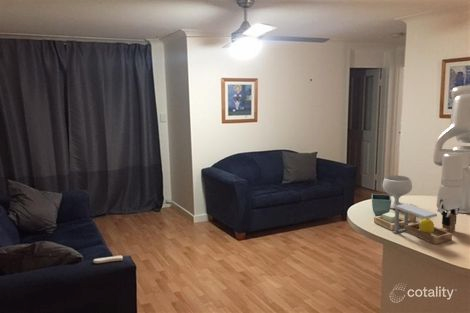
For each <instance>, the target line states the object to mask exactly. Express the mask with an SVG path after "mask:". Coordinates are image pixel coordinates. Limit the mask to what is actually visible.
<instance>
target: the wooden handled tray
mask: <svg viewBox="0 0 470 313" xmlns="http://www.w3.org/2000/svg"><path fill="white" fill-rule="evenodd" d="M456 216H457V215H454V214H451V213H450V212H449V217H450V225H449V226H446V225H444V224H442V227H441V228H440V227H439V228H438V227H436V226H434V231H433V233H432V234H431V235H430V234H428V233H425V232H423V231H421V230H420V229H419V224H420V222H421V221H419V222H415V223H411V224H408V225H406V230H405V231H404V232H406V233H408V234H410V235H413V236H416V237H418V238H420V239H423V240H425V241H428V242H429V243H431V244H434V245H437V244H440V243H445V242H448V241H452V240H453V233H452V232H455V231H456V224H455V221H456V222H457V217H456Z"/></svg>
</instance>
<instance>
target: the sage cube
mask: <svg viewBox="0 0 470 313" xmlns="http://www.w3.org/2000/svg"><path fill="white" fill-rule="evenodd" d="M382 220H385V221H387V222H390V223H392V224H393V223H395V212H394V213H393V212H390V211H389V212H388V213H385V214H382Z"/></svg>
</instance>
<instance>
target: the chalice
mask: <svg viewBox="0 0 470 313" xmlns="http://www.w3.org/2000/svg"><path fill="white" fill-rule="evenodd" d="M382 189H383V192H386V193H387V194H388V195H391V197H393V198H394V201H391V207H390V210H391V209H392V210H395V206H397V205H402V204H407V203H406V202H401V201H399V199H400V198H401V197H402V196H406V195H407V194H409V193H410V192H411V191H412V190H413V185H412V180H411V178H410V177H408V176H405V175H395V174H394V175H393V174H392V175H387V176H385V177H384V179H383V182H382Z"/></svg>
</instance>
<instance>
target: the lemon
mask: <svg viewBox="0 0 470 313" xmlns="http://www.w3.org/2000/svg"><path fill="white" fill-rule="evenodd" d="M419 222H420V224H419V229H418V230H421V231H423V232H425V233H428V234H430V235H433V231H434V227H435V224H434V221H433V220H432V219H430V218H427V219H424V218H422V219H421V220H420V221H419Z"/></svg>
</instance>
